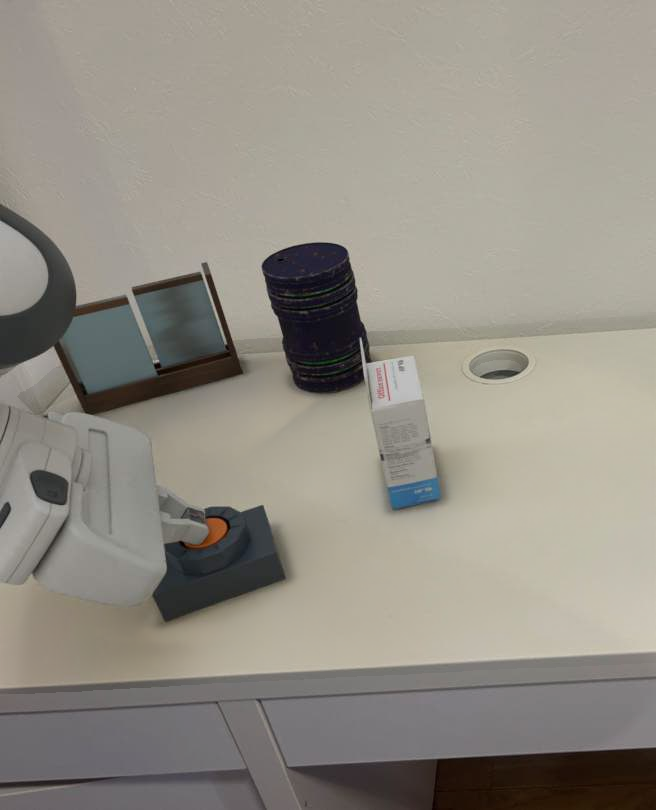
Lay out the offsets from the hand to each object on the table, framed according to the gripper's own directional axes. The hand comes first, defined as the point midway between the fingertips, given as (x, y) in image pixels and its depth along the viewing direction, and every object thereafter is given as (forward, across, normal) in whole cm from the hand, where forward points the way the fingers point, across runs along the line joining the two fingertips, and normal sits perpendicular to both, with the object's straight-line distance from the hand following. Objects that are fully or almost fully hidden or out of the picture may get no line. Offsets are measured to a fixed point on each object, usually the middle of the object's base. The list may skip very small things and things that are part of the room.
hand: (203, 527), depth 67 cm
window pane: (-2, -36, -7) cm, 37 cm away
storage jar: (+16, -29, +8) cm, 34 cm away
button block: (+4, 0, -4) cm, 5 cm away
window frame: (+2, -37, -5) cm, 37 cm away
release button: (+2, 0, -2) cm, 2 cm away
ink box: (+18, -4, +9) cm, 20 cm away
